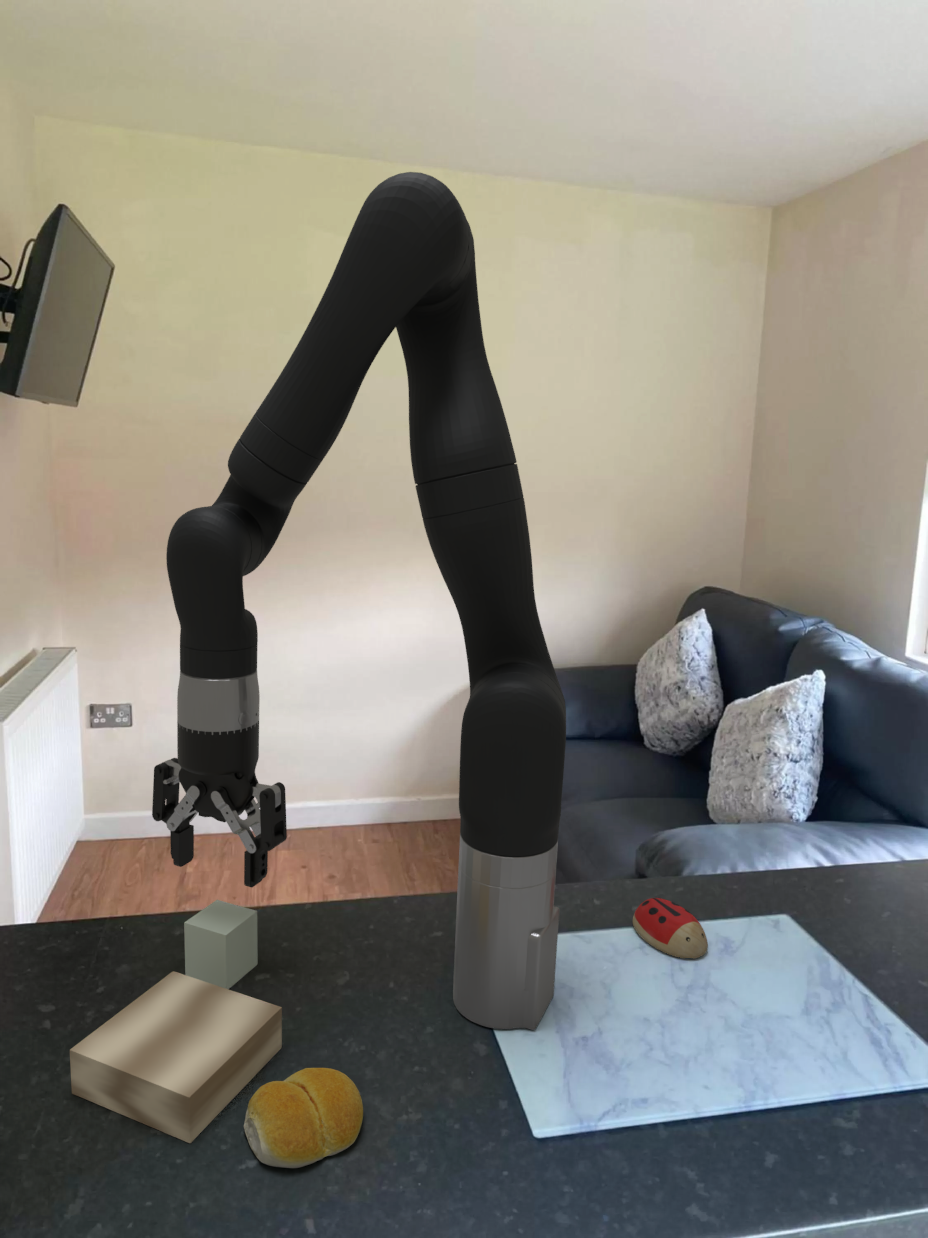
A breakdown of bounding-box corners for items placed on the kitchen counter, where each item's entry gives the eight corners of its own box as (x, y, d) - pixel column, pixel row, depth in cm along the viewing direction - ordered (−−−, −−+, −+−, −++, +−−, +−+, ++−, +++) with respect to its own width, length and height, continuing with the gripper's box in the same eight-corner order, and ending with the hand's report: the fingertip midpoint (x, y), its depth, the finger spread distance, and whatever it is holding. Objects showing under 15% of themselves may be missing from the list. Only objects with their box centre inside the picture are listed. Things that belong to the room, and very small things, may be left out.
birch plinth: (281, 1047, 77) (281, 1007, 76) (190, 1143, 66) (189, 1097, 65) (174, 1009, 82) (173, 971, 81) (71, 1093, 71) (69, 1050, 70)
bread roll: (380, 1141, 67) (381, 1096, 67) (269, 1190, 63) (269, 1142, 62) (334, 1076, 74) (335, 1034, 73) (231, 1115, 69) (231, 1071, 69)
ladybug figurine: (678, 970, 92) (681, 939, 91) (615, 925, 100) (617, 897, 99) (722, 953, 95) (725, 923, 95) (658, 911, 103) (660, 883, 103)
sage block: (257, 964, 89) (257, 911, 88) (226, 991, 85) (225, 935, 84) (217, 952, 91) (217, 899, 90) (185, 977, 87) (184, 922, 85)
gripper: (304, 718, 83) (300, 874, 87) (185, 694, 89) (186, 842, 92) (257, 740, 77) (254, 909, 80) (131, 713, 82) (133, 872, 85)
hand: (217, 873), depth 86 cm, fingers open, 8 cm apart
